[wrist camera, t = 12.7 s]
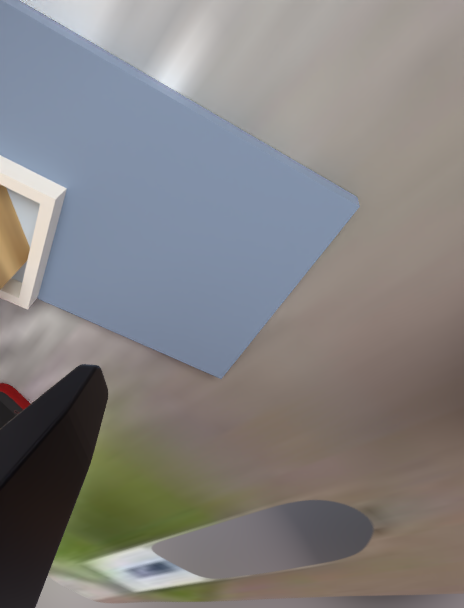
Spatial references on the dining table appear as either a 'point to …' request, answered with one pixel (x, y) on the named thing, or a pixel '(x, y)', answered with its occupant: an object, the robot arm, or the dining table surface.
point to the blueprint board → (148, 200)
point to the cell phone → (10, 403)
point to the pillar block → (10, 239)
